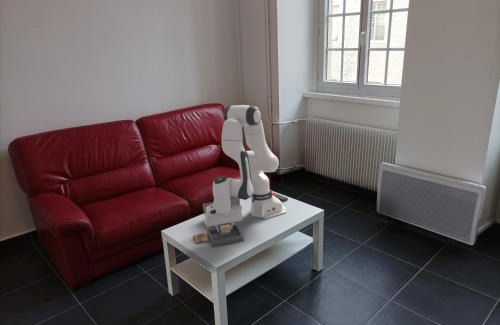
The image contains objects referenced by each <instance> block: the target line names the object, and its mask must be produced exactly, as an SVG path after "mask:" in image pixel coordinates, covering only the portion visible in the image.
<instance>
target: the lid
mask: <svg viewBox="0 0 500 325" xmlns="http://www.w3.org/2000/svg"><path fill="white" fill-rule="evenodd" d="M230 201H231V205H233V200H232V199H230ZM213 203H214V201H212V202H207V203H202V210H203V215H204V217H205V213H206V207H207V206H209V205H211V204H213ZM229 224H231V223H229ZM233 225H237V221H236V222H234V224H233ZM205 227H206V230H210V229H216V227H215V226H210V227H207V226H206V225H205ZM218 228H219V225H218Z"/></svg>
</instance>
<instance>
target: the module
mask: <svg viewBox="0 0 500 325" xmlns="http://www.w3.org/2000/svg"><path fill="white" fill-rule="evenodd" d="M218 228H220V232H219V235H220V237H221V239H226V238H231V232H230V224H229V223H226V224H220V225H219V227H218Z"/></svg>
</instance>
